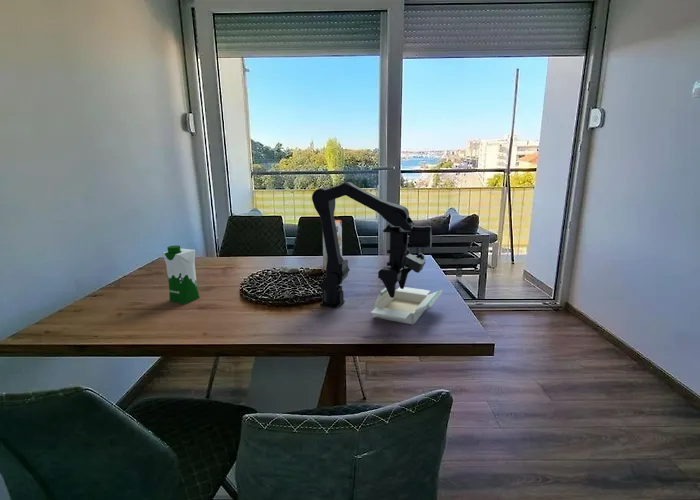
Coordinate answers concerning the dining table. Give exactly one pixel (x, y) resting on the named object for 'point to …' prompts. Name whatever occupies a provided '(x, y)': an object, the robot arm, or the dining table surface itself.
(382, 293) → the flap
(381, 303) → the carton
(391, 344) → the dining table surface
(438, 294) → the flap
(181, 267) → the milk carton
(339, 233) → the cracker box
